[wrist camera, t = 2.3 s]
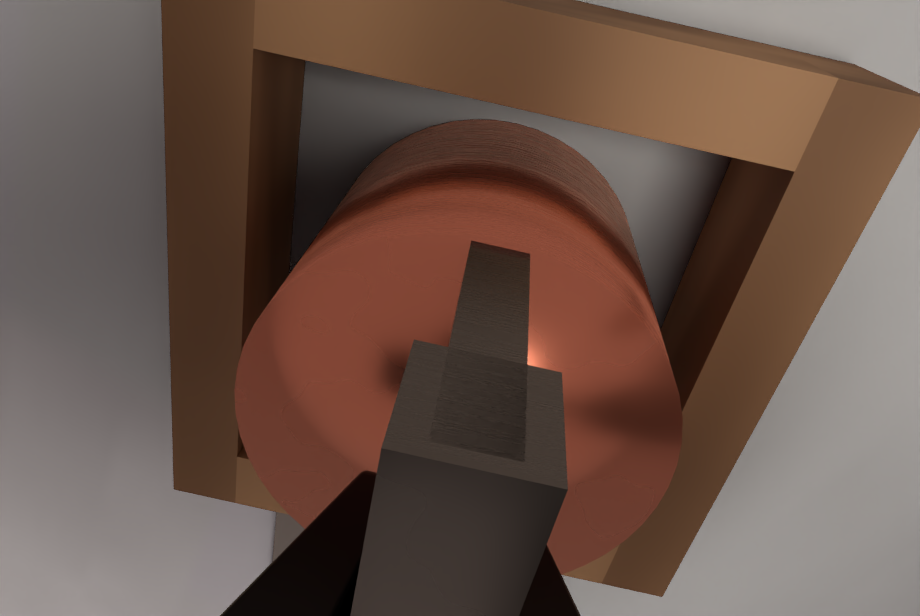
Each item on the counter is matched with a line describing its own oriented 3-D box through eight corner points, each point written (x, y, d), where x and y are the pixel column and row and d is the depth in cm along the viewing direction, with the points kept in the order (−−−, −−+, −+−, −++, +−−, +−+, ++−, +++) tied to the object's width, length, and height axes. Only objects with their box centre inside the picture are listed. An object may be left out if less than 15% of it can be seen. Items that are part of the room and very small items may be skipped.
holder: (854, 64, 13) (934, 100, 10) (645, 504, 19) (662, 596, 16) (236, -78, 13) (158, -78, 10) (224, 410, 19) (174, 489, 16)
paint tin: (679, 160, 14) (913, 555, 5) (583, 416, 18) (628, 911, 9) (351, 85, 14) (34, 361, 5) (320, 357, 18) (100, 797, 9)
